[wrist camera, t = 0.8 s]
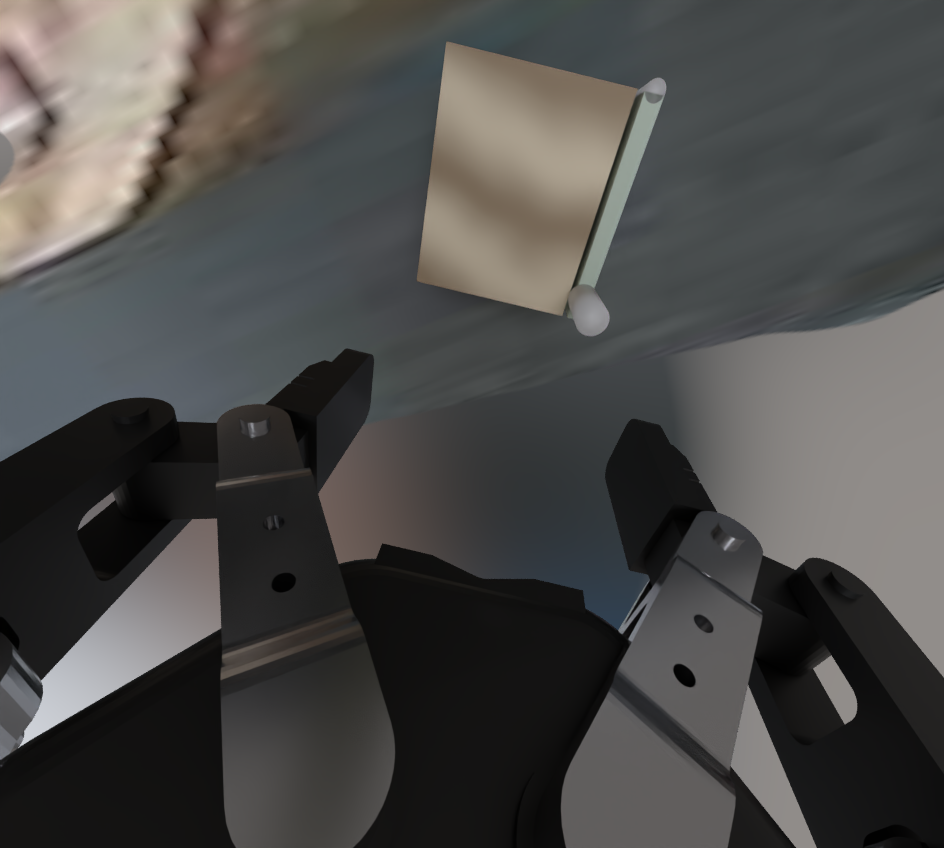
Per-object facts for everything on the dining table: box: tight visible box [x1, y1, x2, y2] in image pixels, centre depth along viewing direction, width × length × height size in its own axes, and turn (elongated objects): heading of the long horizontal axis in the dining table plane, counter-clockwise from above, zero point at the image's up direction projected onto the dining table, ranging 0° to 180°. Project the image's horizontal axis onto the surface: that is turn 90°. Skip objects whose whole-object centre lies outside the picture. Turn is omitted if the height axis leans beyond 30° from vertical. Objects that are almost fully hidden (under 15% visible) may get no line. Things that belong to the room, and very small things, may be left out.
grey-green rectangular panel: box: [565, 78, 666, 336], centre depth 26 cm, size 12×2×16 cm, turn 168°
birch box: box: [417, 42, 638, 316], centre depth 28 cm, size 12×10×11 cm
